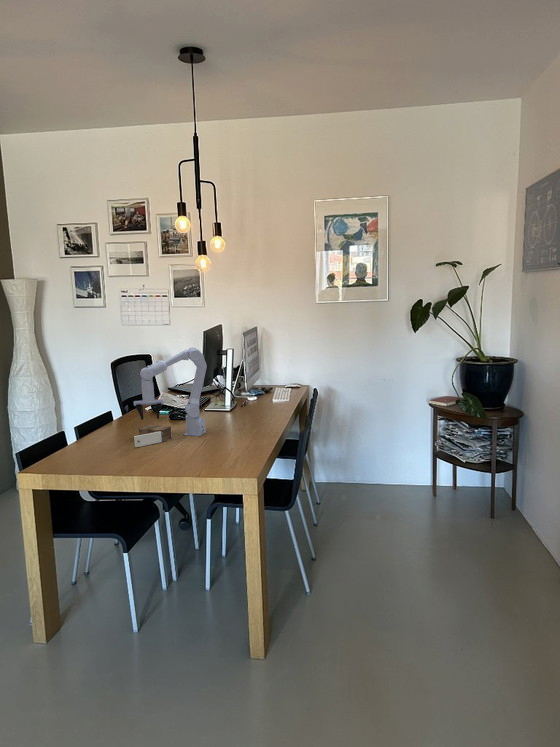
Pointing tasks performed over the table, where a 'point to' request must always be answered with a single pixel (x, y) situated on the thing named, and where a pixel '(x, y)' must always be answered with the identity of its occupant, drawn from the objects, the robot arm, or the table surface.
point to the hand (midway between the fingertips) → (150, 418)
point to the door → (148, 439)
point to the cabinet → (156, 430)
